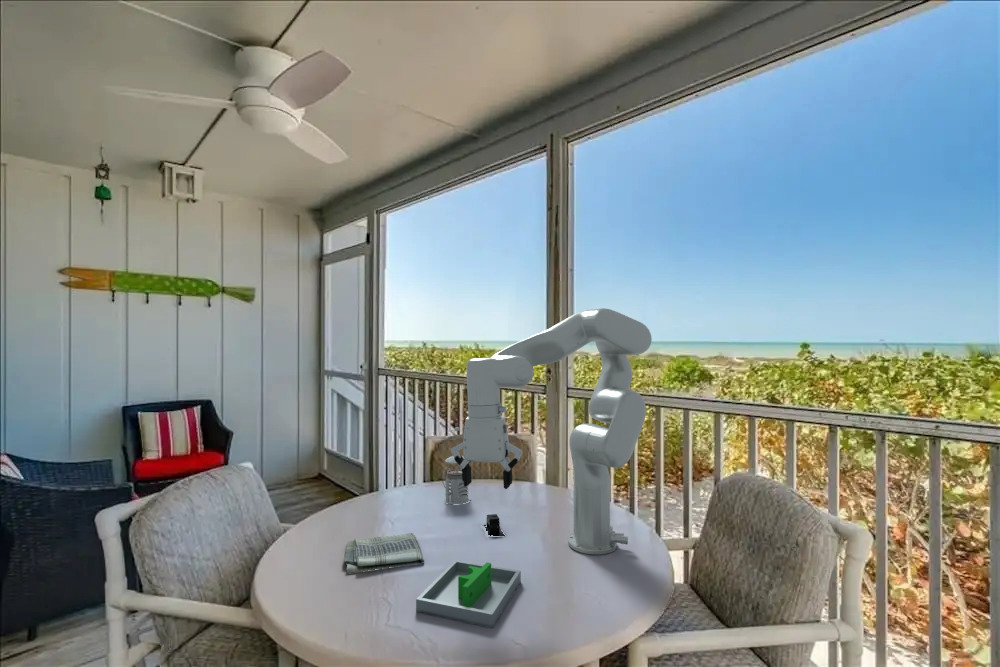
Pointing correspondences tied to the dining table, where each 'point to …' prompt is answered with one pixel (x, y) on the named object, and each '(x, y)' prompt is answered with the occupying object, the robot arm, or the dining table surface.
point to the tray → (446, 604)
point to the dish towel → (382, 553)
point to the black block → (493, 525)
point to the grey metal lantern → (455, 484)
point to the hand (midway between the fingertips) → (487, 485)
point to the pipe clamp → (474, 584)
